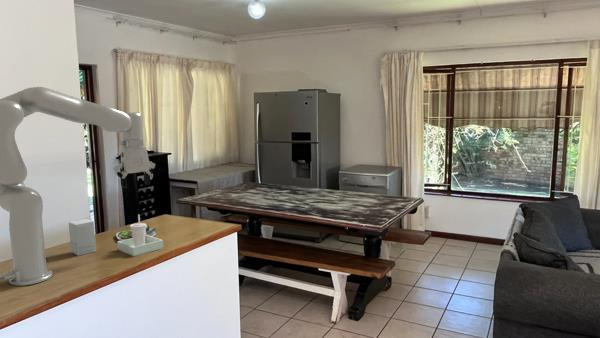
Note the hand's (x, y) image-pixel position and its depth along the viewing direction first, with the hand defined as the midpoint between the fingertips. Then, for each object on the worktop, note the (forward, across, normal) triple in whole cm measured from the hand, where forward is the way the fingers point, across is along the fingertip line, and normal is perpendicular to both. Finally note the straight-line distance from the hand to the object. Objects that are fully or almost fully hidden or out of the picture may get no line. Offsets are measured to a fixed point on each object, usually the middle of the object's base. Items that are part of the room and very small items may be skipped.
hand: (136, 186), depth 177 cm
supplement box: (+26, -16, +15) cm, 35 cm away
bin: (+26, 0, 0) cm, 26 cm away
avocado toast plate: (+27, +9, +19) cm, 34 cm away
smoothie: (+26, 0, 0) cm, 26 cm away
